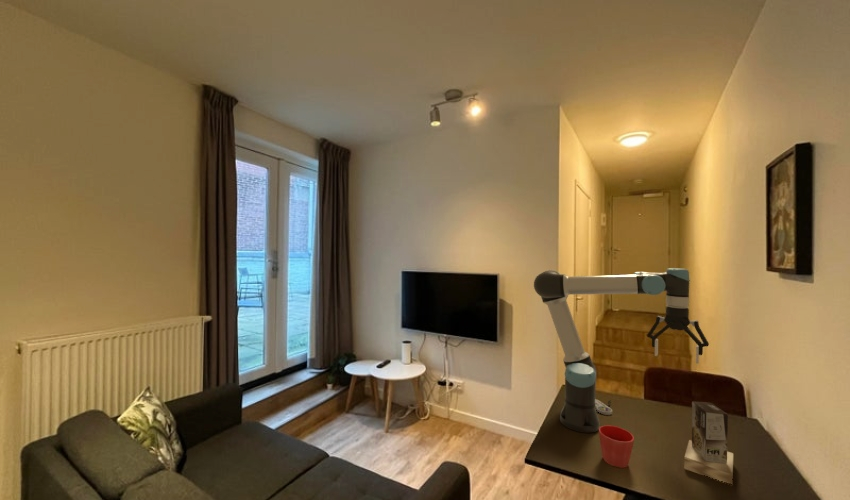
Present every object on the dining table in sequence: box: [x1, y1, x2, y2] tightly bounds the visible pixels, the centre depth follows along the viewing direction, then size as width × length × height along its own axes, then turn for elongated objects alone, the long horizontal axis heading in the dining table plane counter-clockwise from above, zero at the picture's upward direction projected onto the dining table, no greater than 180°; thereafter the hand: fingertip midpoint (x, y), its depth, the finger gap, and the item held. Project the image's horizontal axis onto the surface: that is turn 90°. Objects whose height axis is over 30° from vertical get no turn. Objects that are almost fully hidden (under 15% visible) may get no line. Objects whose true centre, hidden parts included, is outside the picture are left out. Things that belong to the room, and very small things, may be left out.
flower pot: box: [598, 425, 635, 469], centre depth 121 cm, size 11×11×10 cm
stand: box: [683, 439, 734, 485], centre depth 118 cm, size 12×14×4 cm
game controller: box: [595, 398, 613, 416], centre depth 162 cm, size 15×13×2 cm
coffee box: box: [691, 401, 729, 464], centre depth 118 cm, size 9×6×16 cm
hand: (676, 359), depth 142 cm, fingers open, 13 cm apart
